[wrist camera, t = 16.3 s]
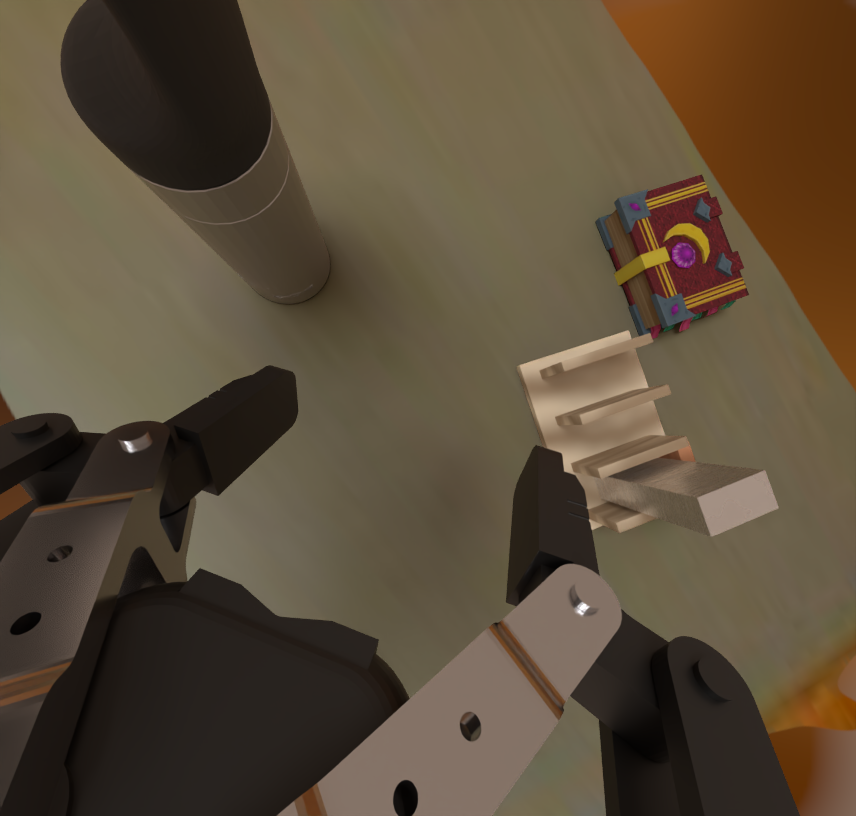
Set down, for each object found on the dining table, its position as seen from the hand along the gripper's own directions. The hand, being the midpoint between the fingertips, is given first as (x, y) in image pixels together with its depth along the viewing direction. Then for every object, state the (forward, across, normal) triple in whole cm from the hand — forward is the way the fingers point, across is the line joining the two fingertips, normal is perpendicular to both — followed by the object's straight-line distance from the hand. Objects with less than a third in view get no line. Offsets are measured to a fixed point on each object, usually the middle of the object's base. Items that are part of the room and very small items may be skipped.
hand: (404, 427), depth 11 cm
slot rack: (+27, -17, +14) cm, 35 cm away
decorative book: (+41, -19, -2) cm, 46 cm away
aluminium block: (+24, -20, +17) cm, 36 cm away
